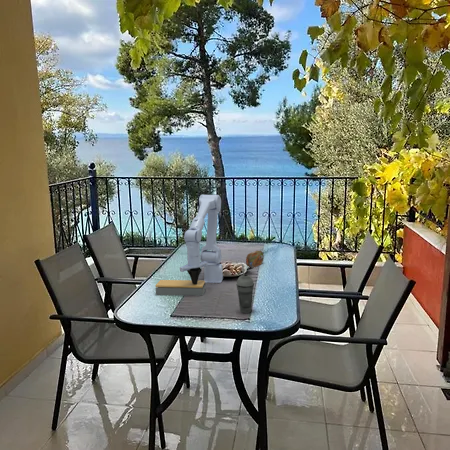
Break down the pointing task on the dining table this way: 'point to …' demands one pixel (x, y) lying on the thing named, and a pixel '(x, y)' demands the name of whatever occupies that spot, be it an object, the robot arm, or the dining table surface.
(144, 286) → the dining table surface
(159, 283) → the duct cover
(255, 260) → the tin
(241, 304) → the beverage cup
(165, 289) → the cable duct
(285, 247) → the dining table surface
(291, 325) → the dining table surface
